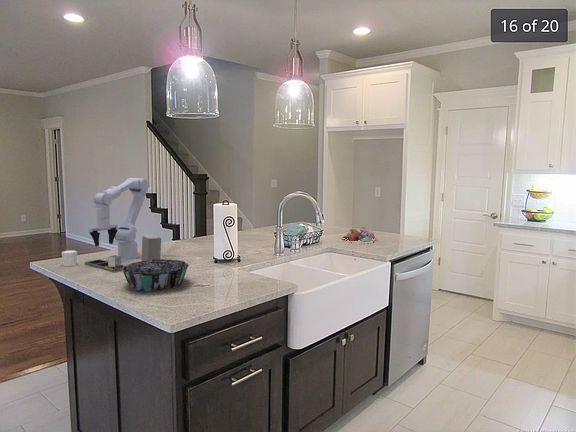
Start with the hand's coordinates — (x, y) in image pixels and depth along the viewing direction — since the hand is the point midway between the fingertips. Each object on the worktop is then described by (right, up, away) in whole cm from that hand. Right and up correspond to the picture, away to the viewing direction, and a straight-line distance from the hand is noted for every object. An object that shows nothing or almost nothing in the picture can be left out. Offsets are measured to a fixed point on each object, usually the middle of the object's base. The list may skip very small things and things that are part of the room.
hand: (104, 244), depth 209 cm
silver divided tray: (+3, -11, -5) cm, 12 cm away
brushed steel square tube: (+9, -11, -9) cm, 16 cm away
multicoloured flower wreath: (+141, -4, +87) cm, 166 cm away
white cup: (-15, -10, -3) cm, 19 cm away
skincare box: (+24, -11, -3) cm, 27 cm away
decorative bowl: (+35, -15, -30) cm, 49 cm away
